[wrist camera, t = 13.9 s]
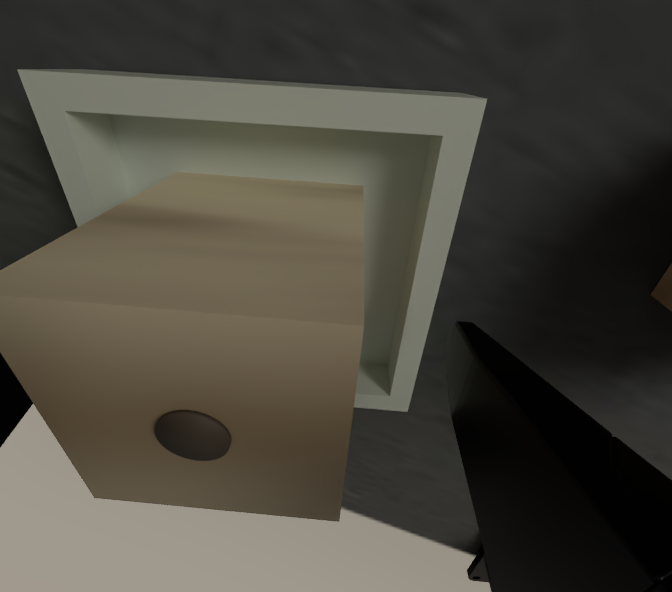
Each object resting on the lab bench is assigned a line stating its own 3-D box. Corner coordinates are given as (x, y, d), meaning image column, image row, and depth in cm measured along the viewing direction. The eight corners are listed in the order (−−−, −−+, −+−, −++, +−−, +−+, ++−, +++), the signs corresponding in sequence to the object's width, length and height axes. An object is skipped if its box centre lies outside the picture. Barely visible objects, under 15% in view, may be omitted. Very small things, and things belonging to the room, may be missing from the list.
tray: (402, 369, 14) (407, 411, 12) (166, 350, 14) (139, 388, 12) (462, 93, 8) (487, 98, 7) (84, 68, 9) (16, 69, 7)
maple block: (348, 331, 12) (338, 526, 7) (206, 319, 12) (91, 502, 7) (363, 185, 9) (364, 330, 4) (177, 171, 9) (-48, 296, 4)
